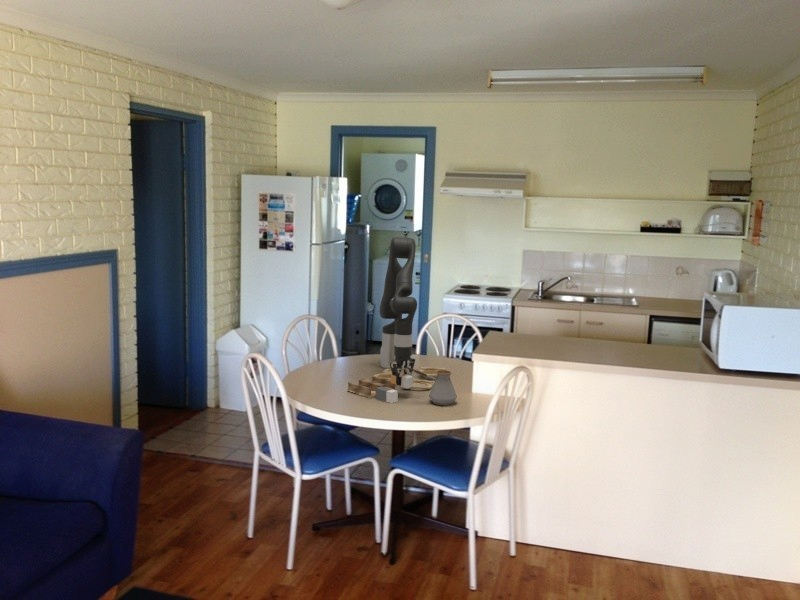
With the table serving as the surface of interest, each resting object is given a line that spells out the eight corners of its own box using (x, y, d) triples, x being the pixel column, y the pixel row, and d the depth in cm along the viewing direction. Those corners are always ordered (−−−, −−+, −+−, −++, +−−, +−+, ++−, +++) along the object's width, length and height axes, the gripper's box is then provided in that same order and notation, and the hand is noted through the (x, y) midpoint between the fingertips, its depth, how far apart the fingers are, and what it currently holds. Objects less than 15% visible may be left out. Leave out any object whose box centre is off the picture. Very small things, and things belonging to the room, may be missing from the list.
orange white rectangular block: (390, 382, 292) (391, 372, 291) (396, 381, 295) (397, 371, 294) (406, 388, 286) (407, 378, 286) (412, 386, 289) (413, 376, 288)
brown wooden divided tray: (347, 391, 296) (347, 382, 295) (372, 384, 307) (372, 375, 307) (370, 398, 287) (370, 389, 286) (395, 391, 298) (396, 382, 298)
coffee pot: (453, 398, 290) (455, 363, 288) (459, 406, 279) (460, 370, 276) (403, 398, 287) (404, 363, 285) (406, 407, 276) (407, 370, 274)
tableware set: (389, 368, 338) (389, 360, 338) (447, 374, 329) (448, 366, 329) (363, 386, 305) (364, 377, 305) (427, 394, 296) (427, 385, 296)
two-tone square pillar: (375, 398, 287) (375, 388, 286) (381, 396, 290) (381, 386, 289) (391, 403, 281) (391, 392, 280) (397, 401, 284) (397, 390, 283)
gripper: (407, 340, 295) (406, 379, 298) (385, 345, 285) (384, 385, 288) (421, 343, 290) (419, 382, 293) (398, 348, 280) (397, 389, 283)
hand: (402, 384), depth 290 cm, fingers closed on orange white rectangular block, 3 cm apart
